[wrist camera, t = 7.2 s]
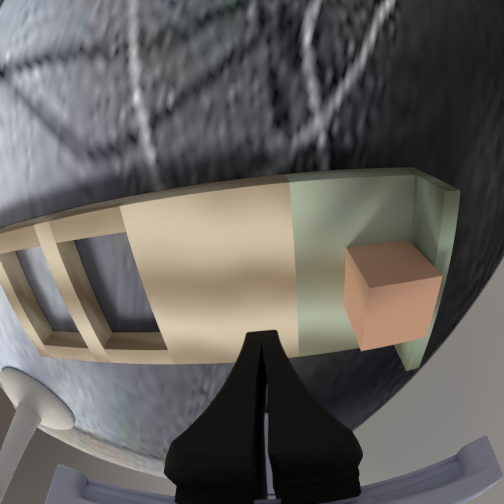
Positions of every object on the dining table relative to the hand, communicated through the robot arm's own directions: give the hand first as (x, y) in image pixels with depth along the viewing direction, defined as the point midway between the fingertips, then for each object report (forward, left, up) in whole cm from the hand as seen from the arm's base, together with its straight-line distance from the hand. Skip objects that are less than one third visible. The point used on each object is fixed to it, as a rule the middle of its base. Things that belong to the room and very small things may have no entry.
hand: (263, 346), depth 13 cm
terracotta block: (0, -7, -5) cm, 8 cm away
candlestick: (-18, +33, -7) cm, 38 cm away
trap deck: (0, +5, -6) cm, 9 cm away
